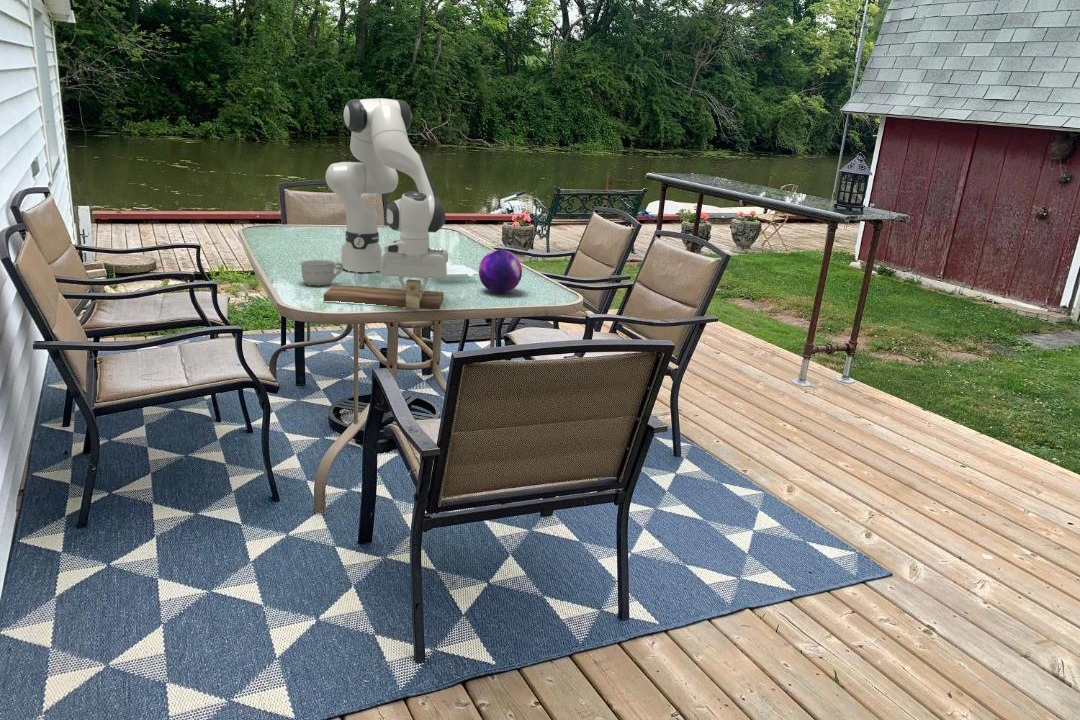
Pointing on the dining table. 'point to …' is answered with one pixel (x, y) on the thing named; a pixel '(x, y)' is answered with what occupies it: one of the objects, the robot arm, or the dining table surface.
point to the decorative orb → (500, 271)
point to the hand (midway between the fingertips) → (413, 291)
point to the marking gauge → (413, 294)
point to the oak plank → (381, 296)
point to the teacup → (319, 271)
